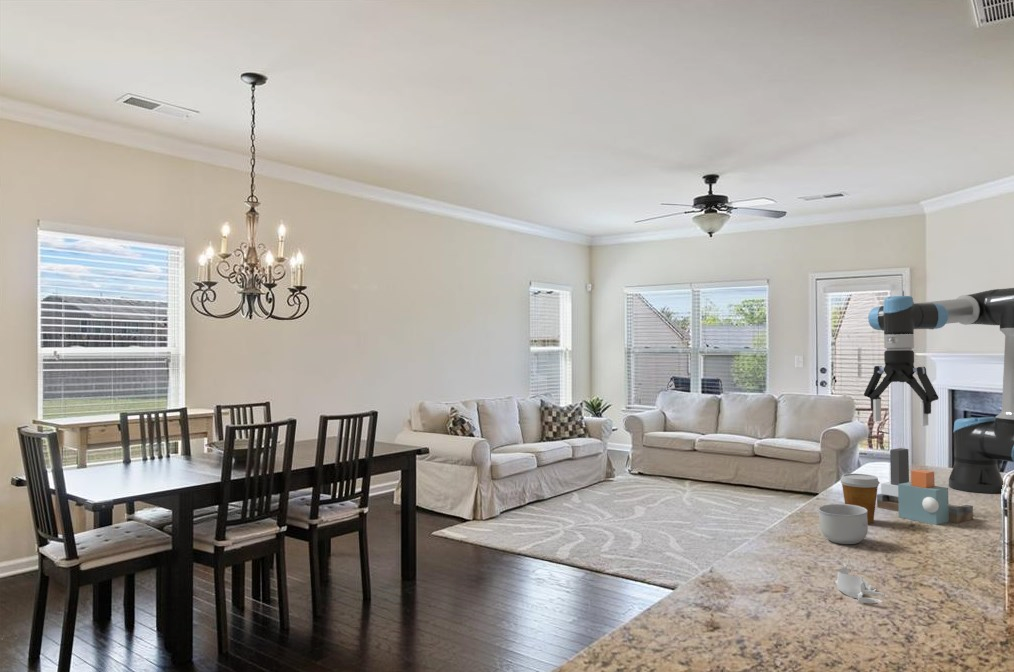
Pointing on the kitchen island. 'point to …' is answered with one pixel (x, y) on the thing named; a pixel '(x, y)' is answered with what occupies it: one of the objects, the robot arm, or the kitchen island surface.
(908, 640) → the kitchen island surface
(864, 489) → the disposable coffee cup
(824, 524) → the light gray bowl
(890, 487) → the carriage
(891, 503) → the rail board
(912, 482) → the button
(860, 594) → the white figurine
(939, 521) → the cabinet
